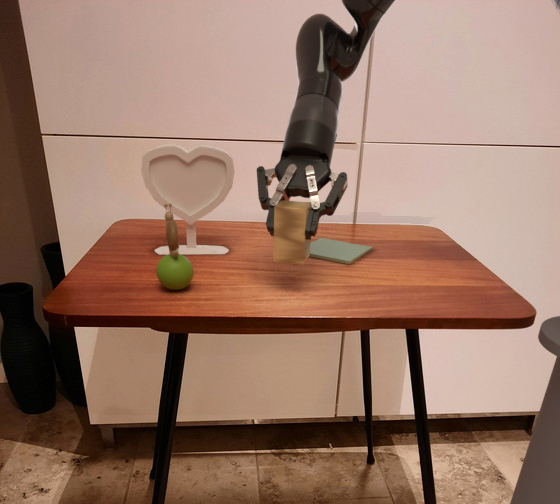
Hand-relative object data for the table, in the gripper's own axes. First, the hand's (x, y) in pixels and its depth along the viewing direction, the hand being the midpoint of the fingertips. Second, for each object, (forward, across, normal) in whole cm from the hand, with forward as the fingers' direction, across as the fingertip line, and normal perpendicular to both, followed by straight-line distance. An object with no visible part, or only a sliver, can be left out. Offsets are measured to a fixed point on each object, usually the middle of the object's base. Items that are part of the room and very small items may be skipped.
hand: (290, 234), depth 78 cm
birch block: (+2, 0, +4) cm, 5 cm away
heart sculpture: (-5, -22, +18) cm, 29 cm away
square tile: (-11, +3, +24) cm, 27 cm away
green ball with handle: (+8, -17, +5) cm, 20 cm away
